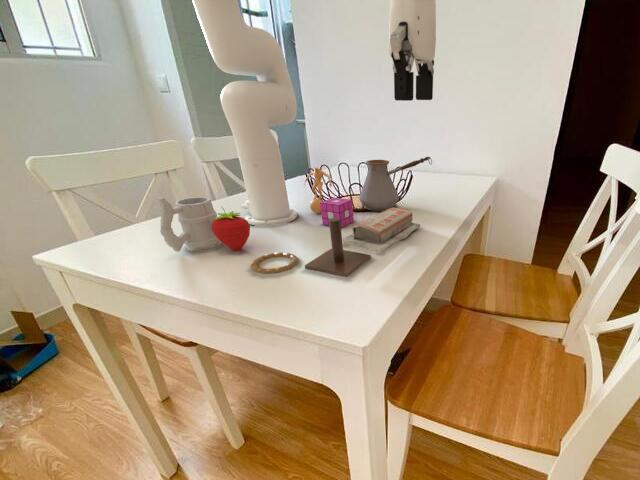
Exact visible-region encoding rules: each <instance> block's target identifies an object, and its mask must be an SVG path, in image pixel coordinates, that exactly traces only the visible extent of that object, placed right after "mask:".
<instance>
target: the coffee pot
mask: <svg viewBox="0 0 640 480" xmlns="http://www.w3.org/2000/svg"><path fill="white" fill-rule="evenodd" d="M427 161H428V164H429V165H433V160H432V157H431V156H425V157H421V158H420V159H417V160H413V161H410V162H408V163H406V164H404V165H402V166H400V167H397V168H394V169H391V170H389V171H388V165H389V164H390V161H389V160H388V159H387V160H386V159H369V160H366V161H365V164H367V168H368V171H367V173H366V176H365V180H364V182H363V185H362V188H361V191H360V194H359V197H358V199H359V201H360V203H361V204H362V206H363V207H365V208H366V209H367V210H368V211H374V212H383V211H386V210H387V209H390V208H394V206H396V205H397V203H398V202H399V200H400V199H399V198H400V197H399V194H398V191H397V189H396V187H395V185H394V182H393V179H392V177H391V175H393V174H395V173H398V172H400V171H403V170H407V169H410V168H413V167H416V166H418V165H419V164H423V163H424V162H427ZM430 161H431V162H430Z"/></svg>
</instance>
